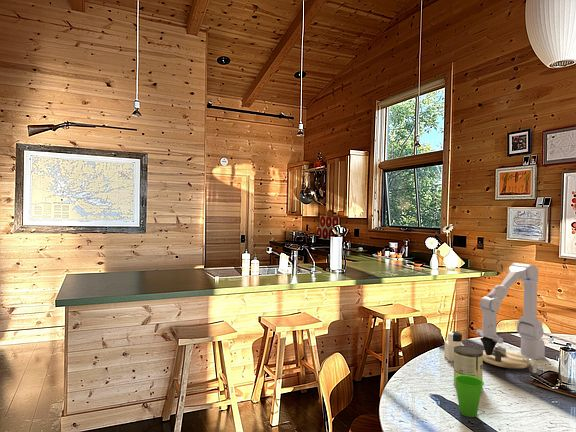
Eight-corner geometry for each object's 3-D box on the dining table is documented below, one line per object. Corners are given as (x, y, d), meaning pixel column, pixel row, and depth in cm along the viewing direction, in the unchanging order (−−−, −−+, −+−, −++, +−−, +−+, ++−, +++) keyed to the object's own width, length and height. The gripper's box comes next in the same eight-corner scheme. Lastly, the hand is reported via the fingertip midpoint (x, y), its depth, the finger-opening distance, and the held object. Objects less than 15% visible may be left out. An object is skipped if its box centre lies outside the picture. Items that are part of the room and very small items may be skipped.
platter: (489, 349, 197) (489, 338, 197) (536, 360, 182) (536, 348, 182) (472, 359, 183) (472, 347, 183) (522, 372, 169) (522, 358, 169)
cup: (448, 407, 139) (449, 374, 139) (474, 406, 140) (474, 374, 140) (462, 420, 130) (462, 385, 130) (489, 419, 131) (489, 385, 131)
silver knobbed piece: (524, 366, 178) (524, 354, 178) (538, 373, 171) (538, 359, 171) (518, 367, 178) (519, 354, 178) (532, 373, 170) (532, 360, 170)
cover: (492, 349, 192) (492, 343, 192) (508, 353, 187) (508, 346, 187) (486, 353, 187) (486, 346, 187) (502, 357, 182) (502, 349, 182)
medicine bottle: (460, 356, 190) (460, 330, 190) (465, 361, 183) (465, 335, 183) (444, 355, 191) (444, 330, 191) (448, 361, 184) (449, 334, 184)
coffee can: (452, 379, 163) (453, 344, 163) (480, 383, 160) (481, 347, 160) (453, 389, 154) (454, 352, 154) (484, 394, 150) (484, 355, 150)
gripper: (470, 320, 188) (470, 350, 188) (493, 329, 174) (492, 361, 174) (483, 319, 190) (483, 349, 190) (507, 328, 176) (506, 360, 176)
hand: (488, 354), depth 182 cm, fingers closed
